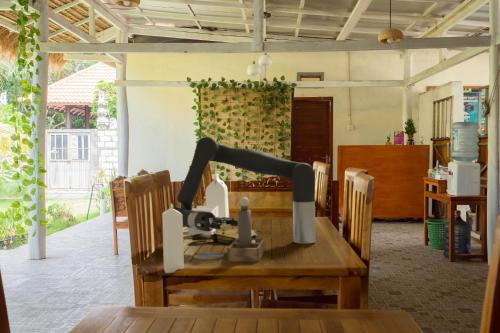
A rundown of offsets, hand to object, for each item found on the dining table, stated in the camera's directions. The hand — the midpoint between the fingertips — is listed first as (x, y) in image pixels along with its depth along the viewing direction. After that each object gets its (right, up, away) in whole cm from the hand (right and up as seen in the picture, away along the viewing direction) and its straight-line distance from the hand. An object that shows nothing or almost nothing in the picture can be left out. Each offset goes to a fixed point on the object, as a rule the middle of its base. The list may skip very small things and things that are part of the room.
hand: (228, 224), depth 169 cm
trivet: (-7, -12, -1) cm, 14 cm away
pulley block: (-2, -11, +29) cm, 32 cm away
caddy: (+7, -12, -2) cm, 14 cm away
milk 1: (-18, -13, -16) cm, 27 cm away
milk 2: (-11, -9, +90) cm, 91 cm away
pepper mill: (+6, -11, -6) cm, 14 cm away
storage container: (-15, -11, +58) cm, 60 cm away
